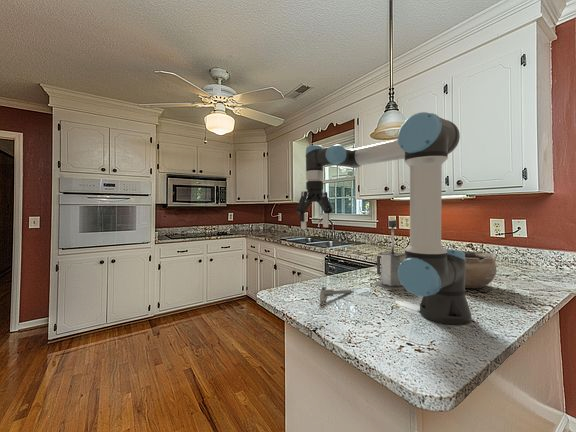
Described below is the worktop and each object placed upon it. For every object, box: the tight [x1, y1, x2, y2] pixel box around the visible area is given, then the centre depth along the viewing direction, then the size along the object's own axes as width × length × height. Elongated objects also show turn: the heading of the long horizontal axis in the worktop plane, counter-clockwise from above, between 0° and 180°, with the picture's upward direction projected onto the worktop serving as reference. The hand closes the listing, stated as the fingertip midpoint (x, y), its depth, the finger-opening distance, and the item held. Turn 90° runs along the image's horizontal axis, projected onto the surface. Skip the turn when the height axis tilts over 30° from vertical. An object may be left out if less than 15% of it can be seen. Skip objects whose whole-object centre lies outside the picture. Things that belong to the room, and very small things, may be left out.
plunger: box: [387, 219, 398, 254], centre depth 126 cm, size 8×8×18 cm
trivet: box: [374, 279, 406, 291], centre depth 126 cm, size 16×16×1 cm
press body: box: [376, 250, 405, 287], centre depth 127 cm, size 13×10×15 cm
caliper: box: [319, 286, 354, 304], centre depth 112 cm, size 20×1×6 cm, turn 131°
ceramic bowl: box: [462, 250, 498, 289], centre depth 125 cm, size 22×22×15 cm
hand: (315, 228), depth 121 cm, fingers open, 13 cm apart
